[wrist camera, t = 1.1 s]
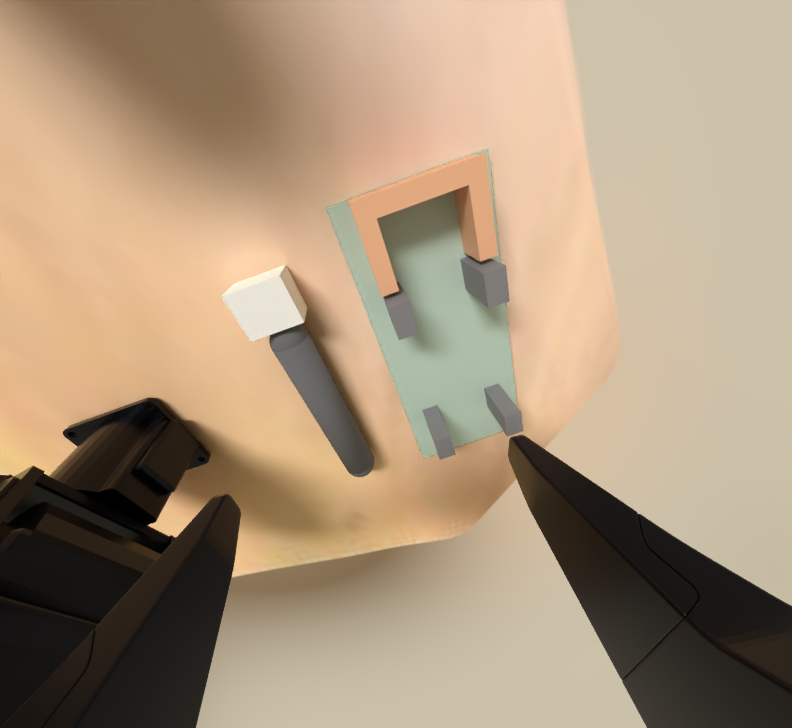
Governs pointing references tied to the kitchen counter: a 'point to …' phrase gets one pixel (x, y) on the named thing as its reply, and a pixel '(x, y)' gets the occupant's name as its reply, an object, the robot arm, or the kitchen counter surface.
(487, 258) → the clip board
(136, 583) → the robot arm
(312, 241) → the kitchen counter surface
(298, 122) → the kitchen counter surface
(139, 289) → the kitchen counter surface
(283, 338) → the rod
